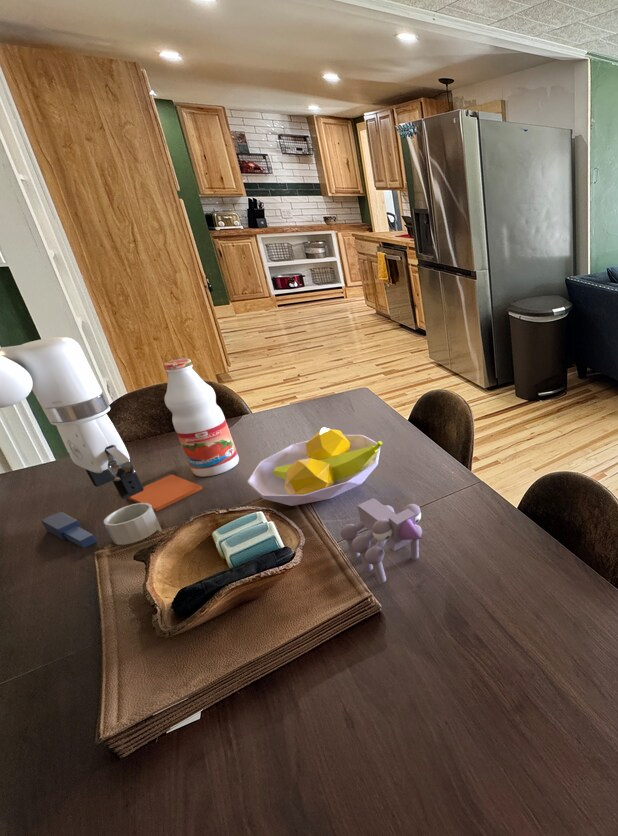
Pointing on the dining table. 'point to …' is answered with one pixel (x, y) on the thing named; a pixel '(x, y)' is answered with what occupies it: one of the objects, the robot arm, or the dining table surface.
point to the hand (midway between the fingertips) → (119, 488)
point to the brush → (68, 529)
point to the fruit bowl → (316, 468)
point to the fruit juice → (198, 421)
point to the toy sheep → (382, 533)
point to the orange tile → (165, 492)
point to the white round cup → (132, 523)
